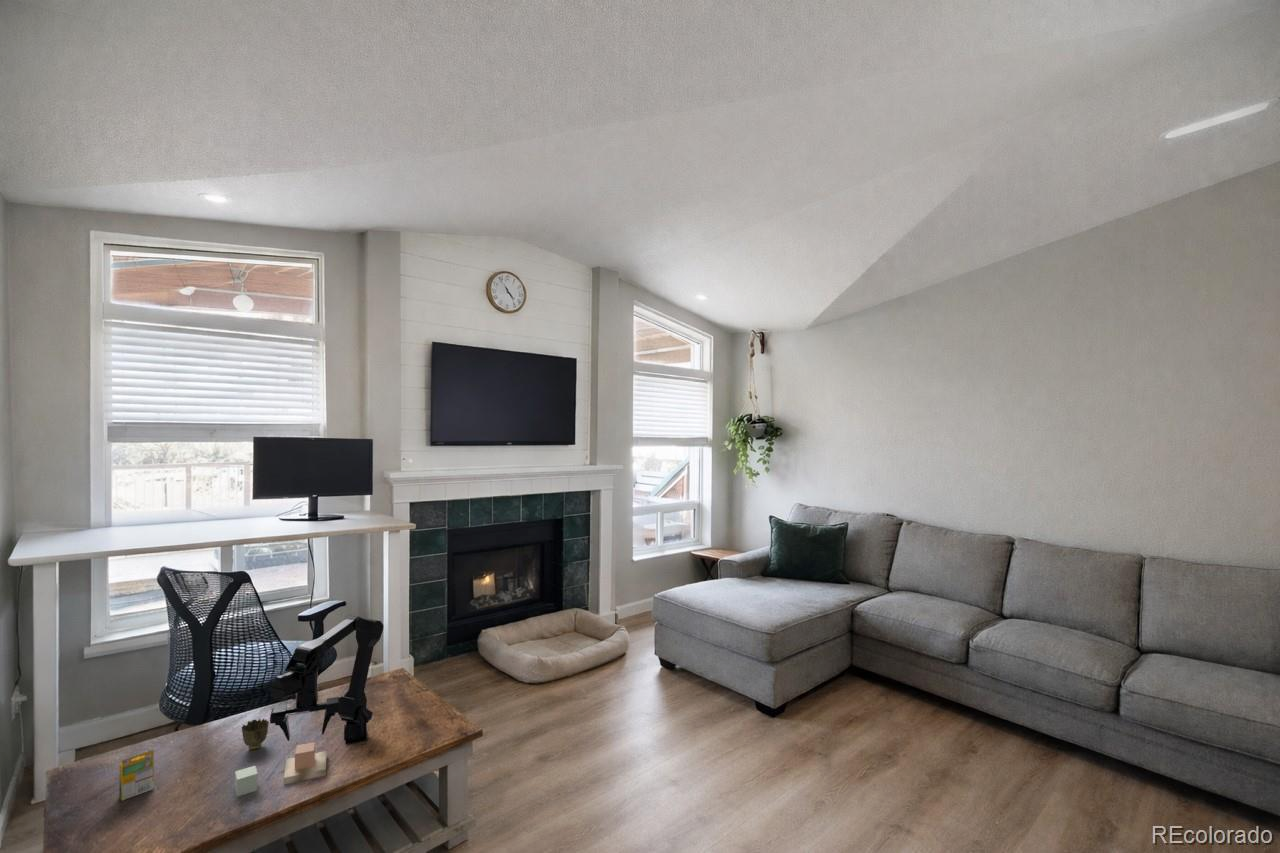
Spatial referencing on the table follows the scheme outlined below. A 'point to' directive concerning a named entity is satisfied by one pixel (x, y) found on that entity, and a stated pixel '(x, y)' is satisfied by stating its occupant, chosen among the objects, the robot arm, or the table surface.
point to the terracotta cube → (305, 756)
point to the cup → (255, 733)
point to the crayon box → (136, 775)
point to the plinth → (305, 769)
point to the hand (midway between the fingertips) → (305, 737)
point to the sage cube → (246, 780)
